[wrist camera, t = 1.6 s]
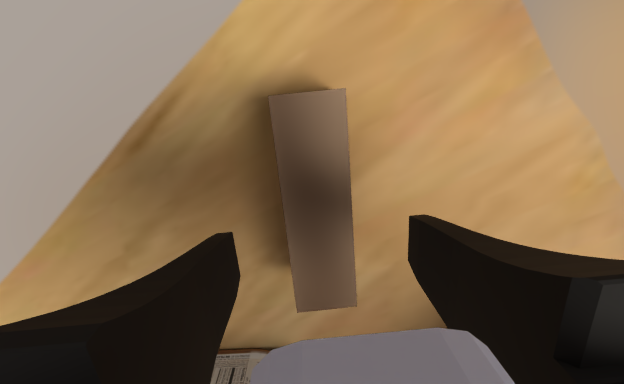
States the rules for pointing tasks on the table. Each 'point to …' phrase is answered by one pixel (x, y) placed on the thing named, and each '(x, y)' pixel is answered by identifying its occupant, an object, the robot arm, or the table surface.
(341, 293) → the brown rectangular block
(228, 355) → the tin
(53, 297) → the table surface
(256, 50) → the table surface
